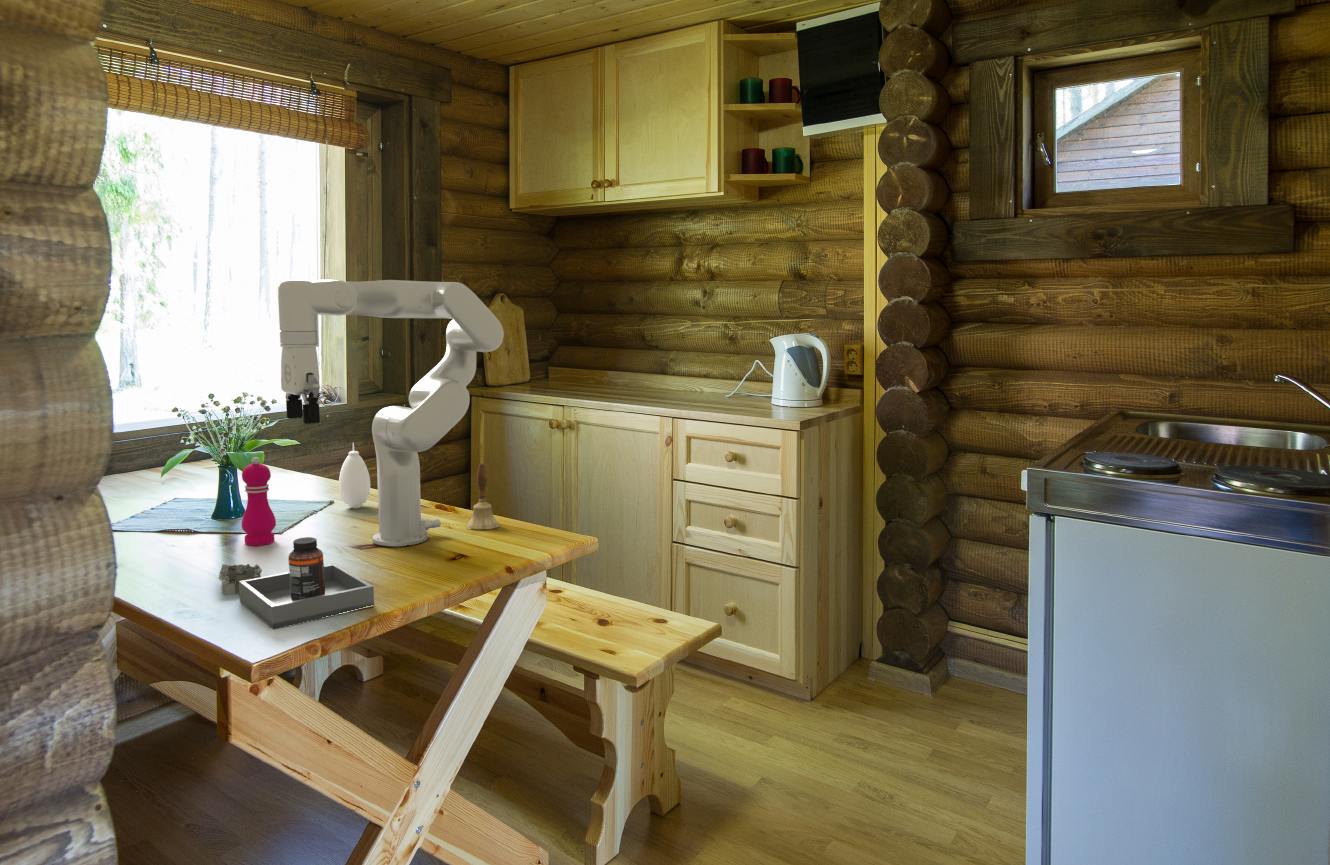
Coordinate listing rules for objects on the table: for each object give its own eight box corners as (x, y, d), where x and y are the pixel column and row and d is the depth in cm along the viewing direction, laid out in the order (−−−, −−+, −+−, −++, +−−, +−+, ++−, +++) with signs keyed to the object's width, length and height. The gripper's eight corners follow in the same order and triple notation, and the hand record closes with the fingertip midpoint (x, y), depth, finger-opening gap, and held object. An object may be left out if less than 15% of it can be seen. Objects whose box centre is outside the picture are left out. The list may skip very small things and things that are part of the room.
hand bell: (460, 525, 224) (459, 463, 222) (489, 520, 230) (488, 459, 227) (475, 532, 218) (474, 468, 216) (505, 527, 223) (505, 464, 221)
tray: (336, 583, 178) (335, 563, 177) (374, 606, 164) (373, 586, 164) (240, 602, 166) (239, 581, 165) (272, 629, 153) (271, 607, 152)
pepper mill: (263, 547, 202) (259, 460, 199) (235, 545, 203) (230, 459, 200) (283, 539, 209) (279, 455, 206) (255, 537, 210) (251, 453, 207)
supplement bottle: (315, 591, 169) (313, 533, 168) (331, 599, 165) (328, 539, 164) (284, 599, 165) (282, 539, 163) (300, 607, 161) (297, 546, 159)
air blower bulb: (376, 506, 242) (374, 441, 240) (353, 512, 236) (350, 445, 233) (357, 503, 247) (355, 438, 244) (333, 508, 240) (331, 442, 237)
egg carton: (261, 593, 172) (260, 572, 171) (218, 597, 169) (216, 576, 168) (263, 577, 182) (262, 557, 181) (222, 581, 179) (221, 561, 178)
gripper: (267, 338, 191) (271, 417, 193) (296, 341, 178) (299, 426, 181) (302, 337, 196) (306, 415, 198) (333, 341, 183) (336, 423, 186)
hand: (303, 420), depth 189 cm, fingers open, 9 cm apart
